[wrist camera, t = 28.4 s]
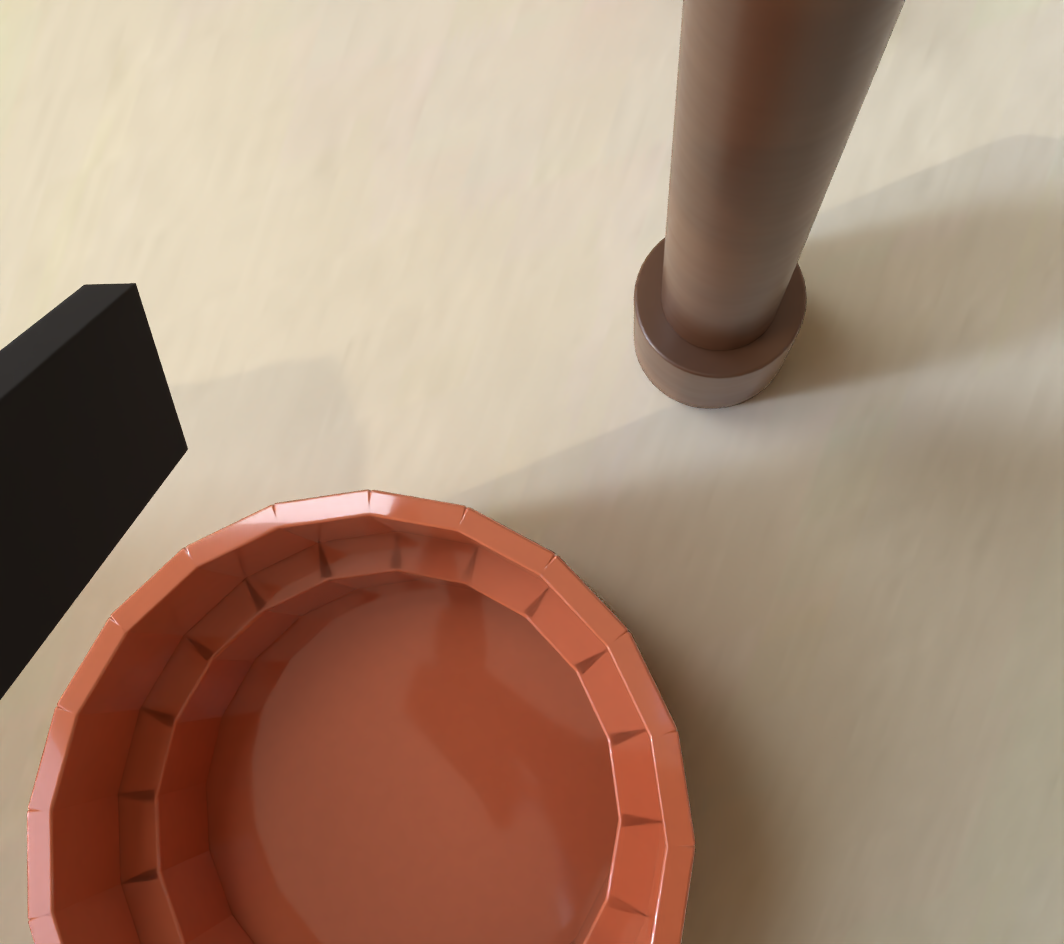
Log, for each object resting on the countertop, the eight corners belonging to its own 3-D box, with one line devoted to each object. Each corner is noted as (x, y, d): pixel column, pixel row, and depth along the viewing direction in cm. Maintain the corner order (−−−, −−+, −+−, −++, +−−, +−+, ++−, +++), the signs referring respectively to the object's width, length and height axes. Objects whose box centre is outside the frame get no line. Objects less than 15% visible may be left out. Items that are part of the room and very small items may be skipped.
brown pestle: (797, 275, 27) (1024, -258, 11) (776, 420, 26) (989, 63, 10) (647, 255, 27) (665, -276, 12) (622, 396, 27) (606, 27, 11)
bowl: (715, 577, 25) (740, 552, 20) (628, 1143, 23) (626, 1309, 17) (234, 491, 27) (125, 446, 22) (105, 1003, 25) (-57, 1109, 19)
